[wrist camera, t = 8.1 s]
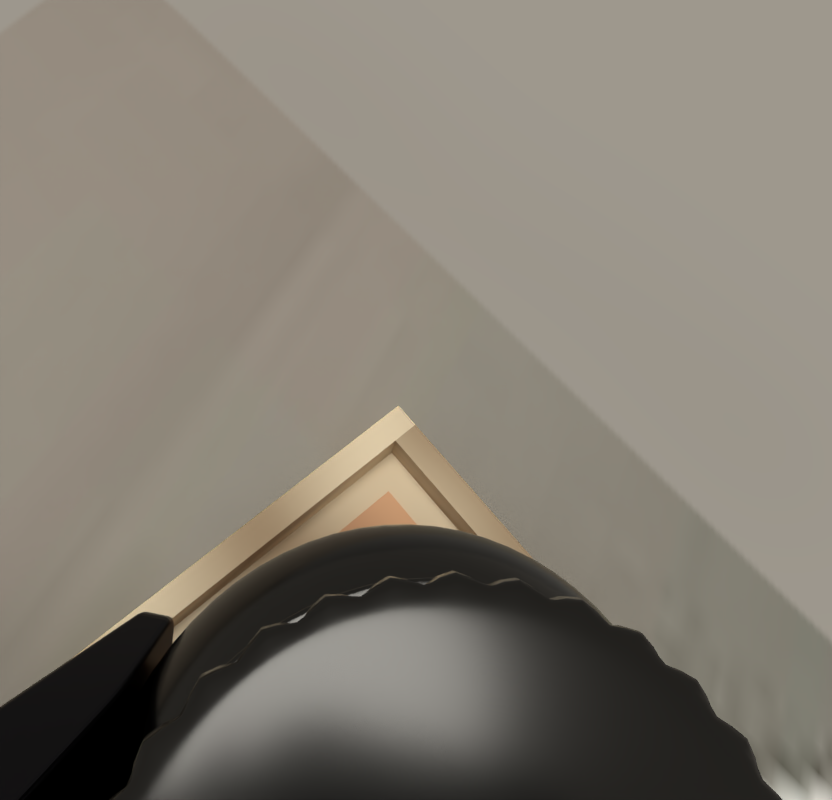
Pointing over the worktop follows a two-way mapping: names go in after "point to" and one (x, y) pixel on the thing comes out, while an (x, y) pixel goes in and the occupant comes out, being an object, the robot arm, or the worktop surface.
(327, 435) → the worktop surface
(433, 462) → the tray
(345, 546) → the supplement bottle
